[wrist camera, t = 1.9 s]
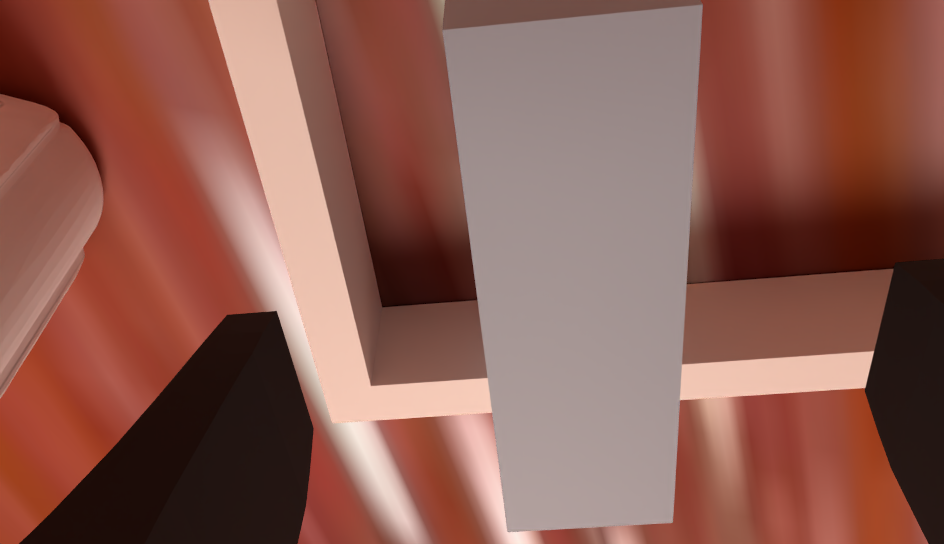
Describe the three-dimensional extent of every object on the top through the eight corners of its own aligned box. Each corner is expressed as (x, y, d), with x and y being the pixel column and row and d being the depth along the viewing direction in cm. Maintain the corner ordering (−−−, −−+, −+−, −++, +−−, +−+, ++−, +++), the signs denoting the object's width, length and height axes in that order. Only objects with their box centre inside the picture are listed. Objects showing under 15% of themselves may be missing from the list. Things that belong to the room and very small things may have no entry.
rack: (1688, -462, 11) (2559, -515, 7) (1261, 287, 19) (1523, 513, 14) (188, -274, 13) (13, -205, 8) (349, 353, 20) (309, 578, 16)
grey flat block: (613, -153, 14) (702, 4, 8) (615, 251, 19) (672, 522, 13) (457, -136, 14) (442, 30, 8) (500, 260, 19) (507, 532, 13)
